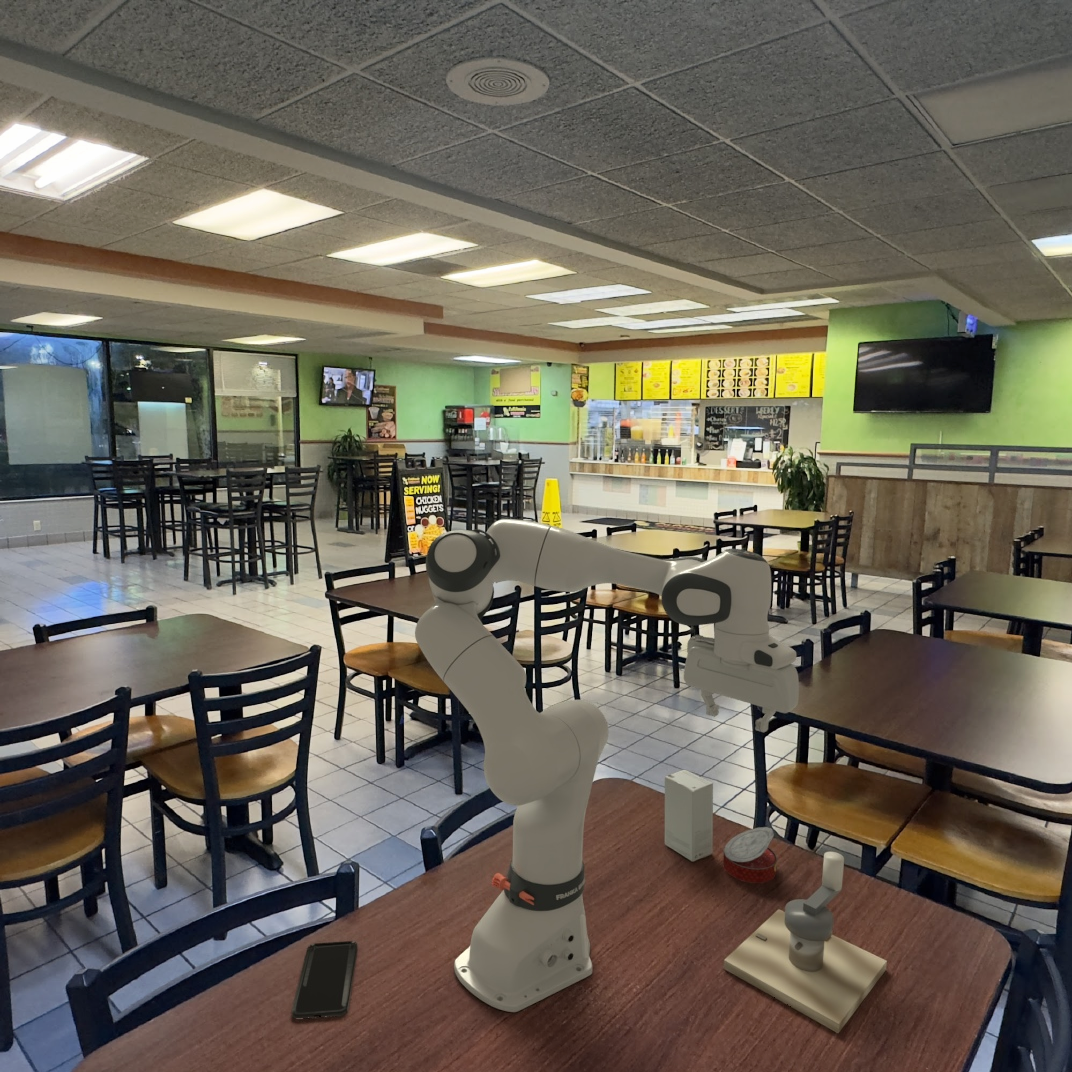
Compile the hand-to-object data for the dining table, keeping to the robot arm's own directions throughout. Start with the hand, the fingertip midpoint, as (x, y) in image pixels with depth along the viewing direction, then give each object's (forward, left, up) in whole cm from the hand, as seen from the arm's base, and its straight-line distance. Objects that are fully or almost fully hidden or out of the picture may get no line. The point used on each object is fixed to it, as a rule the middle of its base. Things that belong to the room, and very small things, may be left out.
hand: (736, 722), depth 131 cm
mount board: (-7, -18, -33) cm, 38 cm away
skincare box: (+9, +14, -33) cm, 37 cm away
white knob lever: (-4, -18, -26) cm, 32 cm away
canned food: (+12, +2, -33) cm, 36 cm away
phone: (-61, +32, -34) cm, 77 cm away
